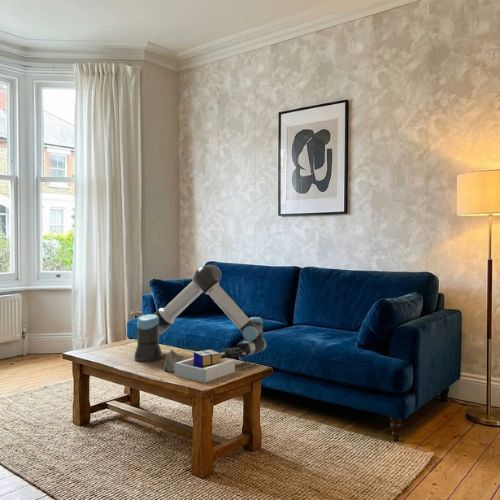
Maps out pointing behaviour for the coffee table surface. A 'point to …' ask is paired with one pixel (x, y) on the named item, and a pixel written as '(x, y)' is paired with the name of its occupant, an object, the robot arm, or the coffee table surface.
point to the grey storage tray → (203, 370)
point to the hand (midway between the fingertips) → (215, 357)
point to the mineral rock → (171, 361)
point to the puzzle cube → (206, 358)
